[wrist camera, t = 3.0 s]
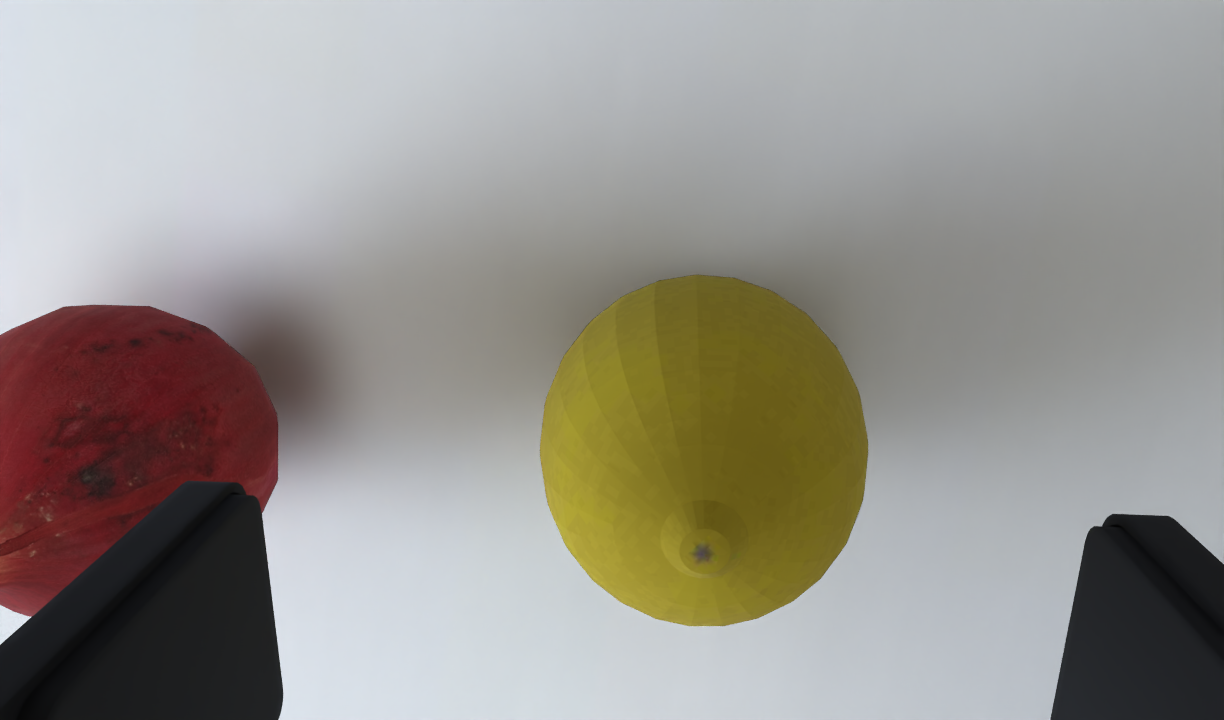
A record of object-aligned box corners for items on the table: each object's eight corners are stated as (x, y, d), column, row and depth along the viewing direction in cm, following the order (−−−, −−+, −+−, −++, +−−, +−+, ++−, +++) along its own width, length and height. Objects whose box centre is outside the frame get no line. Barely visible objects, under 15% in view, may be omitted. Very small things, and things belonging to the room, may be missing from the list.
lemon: (617, 202, 19) (568, 296, 11) (870, 290, 19) (992, 440, 11) (539, 437, 21) (452, 655, 13) (772, 516, 21) (820, 777, 13)
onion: (263, 229, 20) (-5, 331, 12) (376, 464, 21) (202, 687, 14) (40, 316, 21) (-337, 462, 13) (162, 535, 22) (-113, 779, 15)
